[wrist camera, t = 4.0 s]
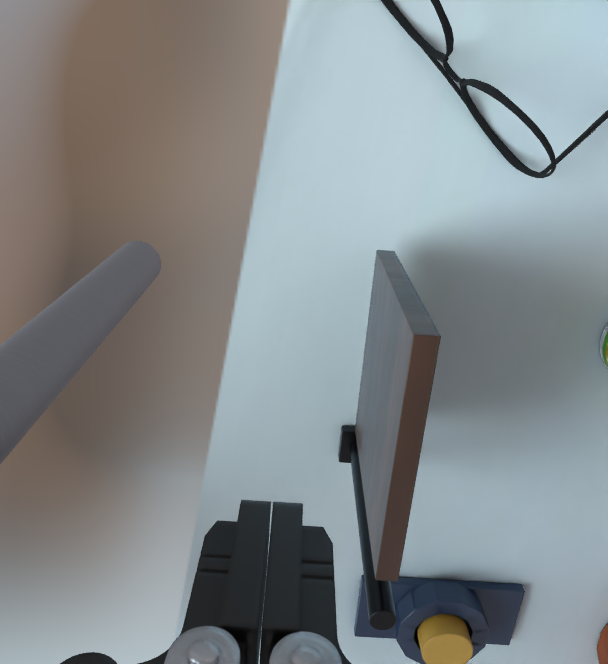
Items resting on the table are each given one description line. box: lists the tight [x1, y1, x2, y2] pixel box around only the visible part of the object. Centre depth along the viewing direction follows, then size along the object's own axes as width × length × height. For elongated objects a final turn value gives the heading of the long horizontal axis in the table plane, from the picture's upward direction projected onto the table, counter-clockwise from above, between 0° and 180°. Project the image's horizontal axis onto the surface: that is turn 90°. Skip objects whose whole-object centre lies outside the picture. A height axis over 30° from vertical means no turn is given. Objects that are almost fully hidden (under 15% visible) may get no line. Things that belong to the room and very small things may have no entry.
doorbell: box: [354, 575, 525, 664], centre depth 42 cm, size 12×6×2 cm, turn 86°
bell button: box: [418, 614, 473, 664], centre depth 41 cm, size 4×4×2 cm
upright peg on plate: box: [338, 426, 397, 631], centre depth 31 cm, size 2×2×14 cm
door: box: [355, 250, 441, 581], centre depth 28 cm, size 1×12×12 cm, turn 176°
